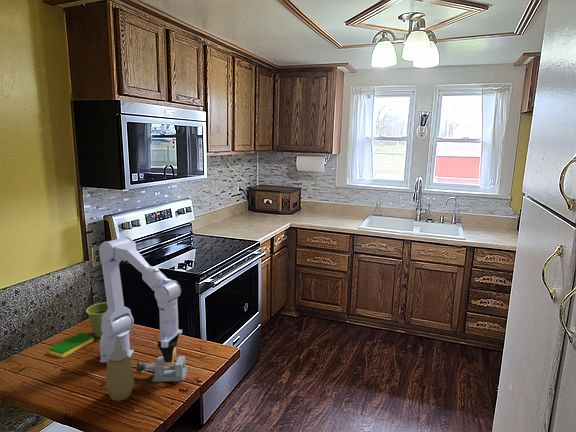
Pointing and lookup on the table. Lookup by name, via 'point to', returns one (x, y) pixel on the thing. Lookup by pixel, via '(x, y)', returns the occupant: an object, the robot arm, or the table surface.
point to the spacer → (172, 358)
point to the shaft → (151, 367)
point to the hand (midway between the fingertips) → (170, 357)
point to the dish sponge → (71, 345)
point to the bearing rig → (170, 374)
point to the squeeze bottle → (119, 374)
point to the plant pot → (97, 317)
